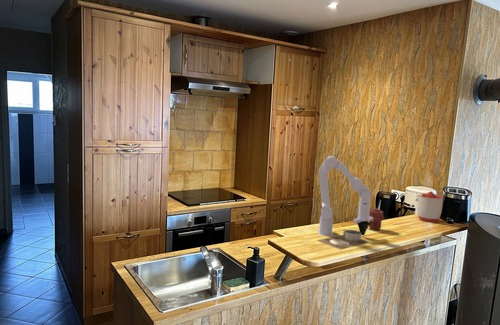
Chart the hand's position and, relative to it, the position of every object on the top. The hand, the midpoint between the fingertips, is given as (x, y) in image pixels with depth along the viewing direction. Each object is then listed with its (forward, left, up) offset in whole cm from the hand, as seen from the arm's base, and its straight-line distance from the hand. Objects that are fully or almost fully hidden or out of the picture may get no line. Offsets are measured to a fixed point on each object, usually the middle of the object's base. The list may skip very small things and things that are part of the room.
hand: (362, 234), depth 203 cm
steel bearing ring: (+6, -6, -1) cm, 9 cm away
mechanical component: (-21, +10, -2) cm, 24 cm away
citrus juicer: (-58, +51, -2) cm, 78 cm away
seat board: (+11, -11, -2) cm, 15 cm away
